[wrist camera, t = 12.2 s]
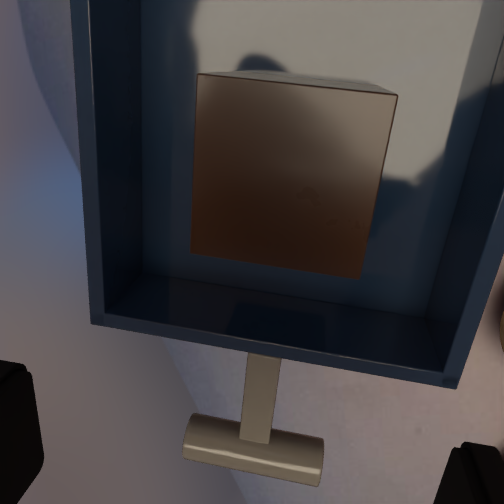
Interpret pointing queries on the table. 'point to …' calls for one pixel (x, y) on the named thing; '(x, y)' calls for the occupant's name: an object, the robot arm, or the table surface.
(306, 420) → the table surface
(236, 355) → the table surface
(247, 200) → the block
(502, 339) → the apple
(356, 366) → the blue open box
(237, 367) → the table surface
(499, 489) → the robot arm
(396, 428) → the table surface
